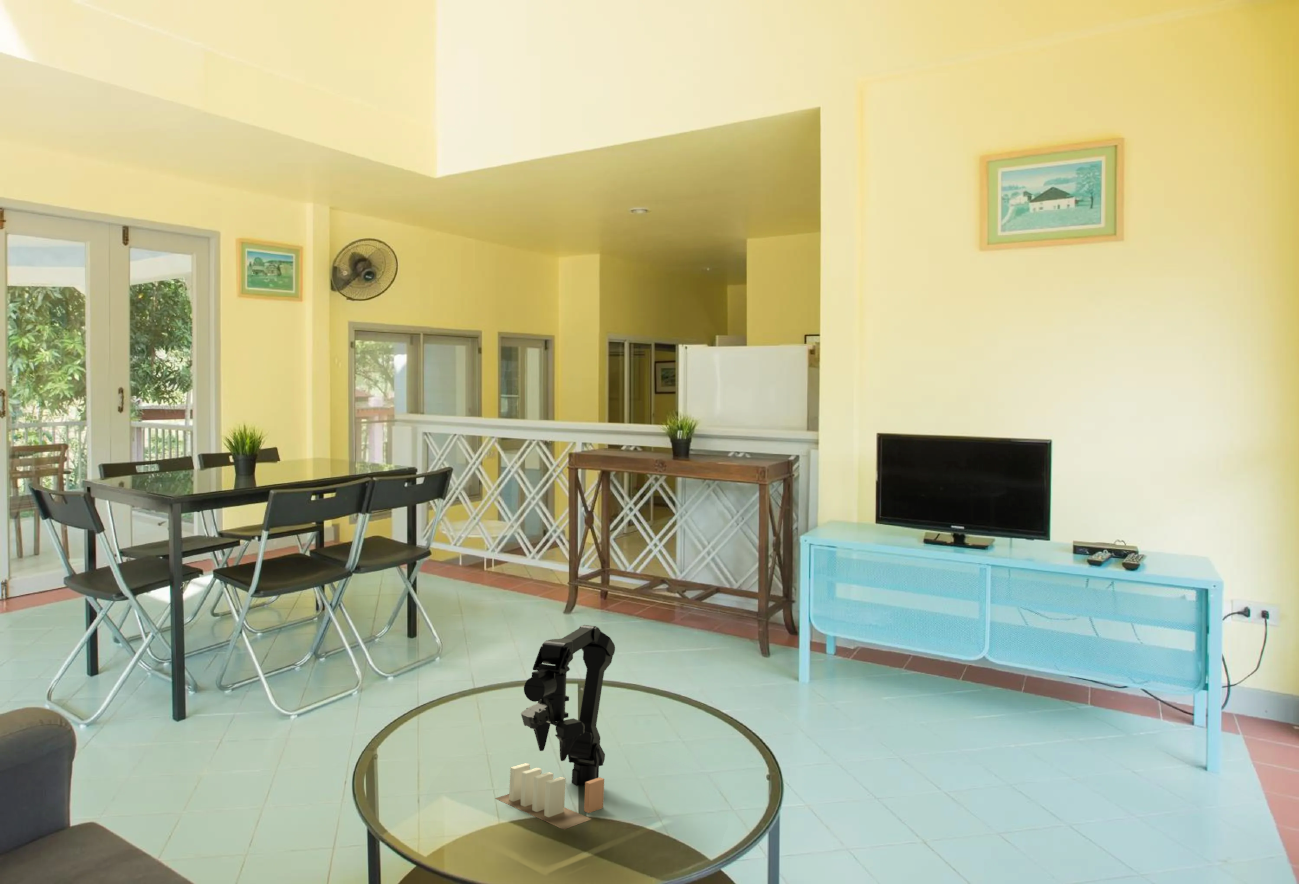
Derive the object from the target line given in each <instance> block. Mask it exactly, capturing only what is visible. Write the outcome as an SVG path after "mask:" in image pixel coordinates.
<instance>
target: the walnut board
mask: <svg viewBox="0 0 1299 884" xmlns="http://www.w3.org/2000/svg"><path fill="white" fill-rule="evenodd" d="M494 799H495V800H498V801H500V802H502V803H503V804H507V805H509V806H511V807H512V808H515V809H517V810H519V811H521V812H523V813H526V814H528V815H530V816H533V817H535V818H537V819H538V820H542V821H544V822H546V823H548V824H550V825H553V826H554V827H557V828H559V829H561V830H567V829H570V828H573V827H575V826H577V825H581V824H583V823H586V822H588V821H590V820H592V818H591V817H587V816H585V815H584V814H581V813H579V812H576V811H574V810H571V809H569V808H568V807H565V806H564V812H562V813H560V814H557V815H554V816H551V817H547V816H544V810H541V811H538V812H535V811H533V810H532V805H528V806H525V807H524V806H522V805H521V799H519V800H516V801H510V800H509V793H507V794H505V795H502V796H499V797H495V798H494Z"/></svg>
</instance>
